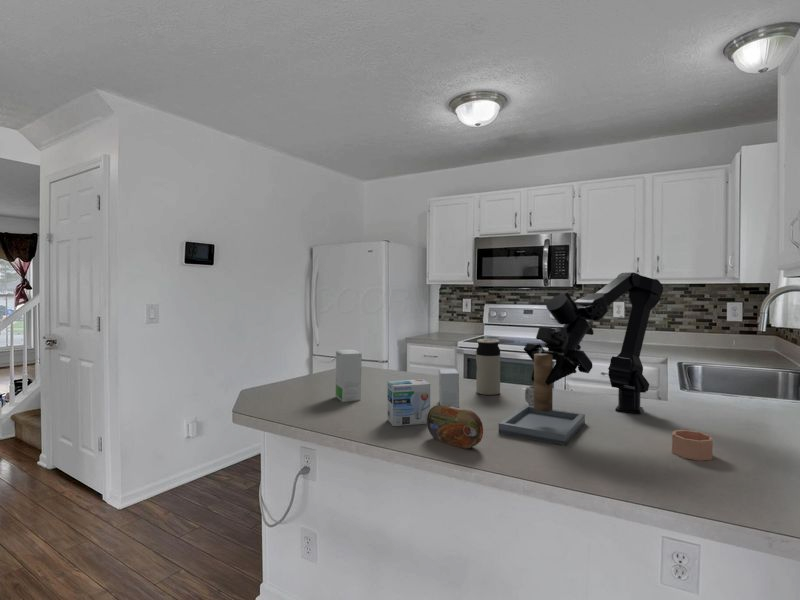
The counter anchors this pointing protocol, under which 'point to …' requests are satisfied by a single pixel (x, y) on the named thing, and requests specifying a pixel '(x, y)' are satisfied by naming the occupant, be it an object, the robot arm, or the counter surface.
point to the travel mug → (488, 367)
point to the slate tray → (543, 425)
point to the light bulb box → (408, 402)
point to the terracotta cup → (692, 445)
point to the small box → (449, 387)
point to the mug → (529, 395)
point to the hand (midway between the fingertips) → (539, 382)
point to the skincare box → (348, 375)
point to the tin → (455, 426)
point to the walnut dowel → (542, 382)
